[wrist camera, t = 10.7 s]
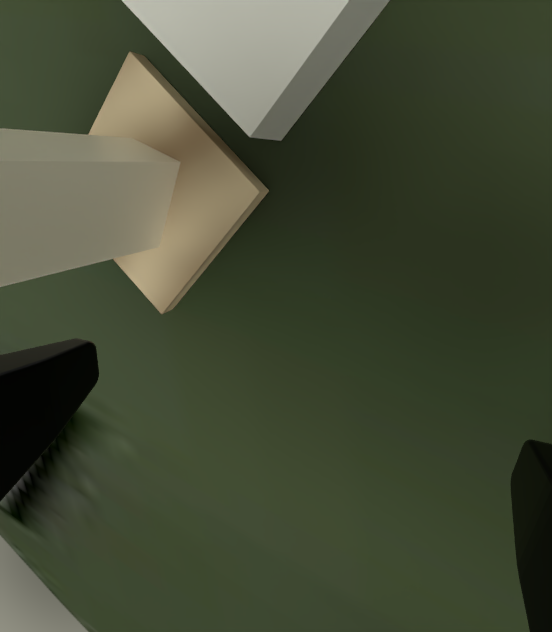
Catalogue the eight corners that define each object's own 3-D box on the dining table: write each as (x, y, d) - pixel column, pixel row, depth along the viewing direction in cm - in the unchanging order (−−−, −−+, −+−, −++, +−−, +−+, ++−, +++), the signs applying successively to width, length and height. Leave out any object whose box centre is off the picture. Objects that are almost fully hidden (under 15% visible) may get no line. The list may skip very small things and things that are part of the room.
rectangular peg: (181, 161, 21) (-142, 158, 10) (159, 248, 23) (-129, 321, 12) (131, 136, 22) (-218, 109, 11) (115, 222, 24) (-194, 270, 13)
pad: (269, 190, 21) (259, 191, 20) (172, 309, 25) (161, 314, 24) (144, 55, 21) (129, 51, 21) (72, 194, 26) (57, 195, 25)
